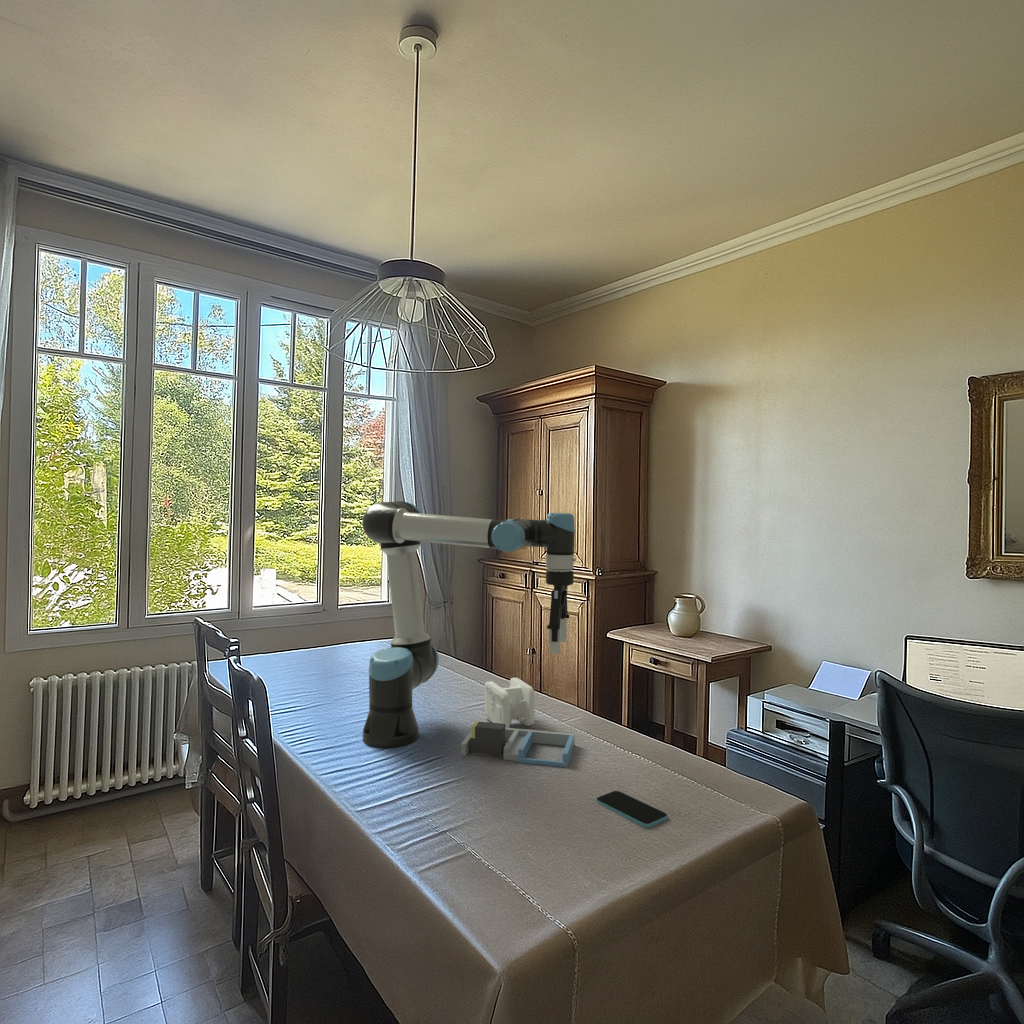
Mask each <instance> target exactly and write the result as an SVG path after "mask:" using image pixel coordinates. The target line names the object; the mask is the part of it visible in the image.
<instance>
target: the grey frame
mask: <svg viewBox="0 0 1024 1024" xmlns="http://www.w3.org/2000/svg"><path fill="white" fill-rule="evenodd" d="M575 737H576V736H575V733H571V732H568V733H567V732H556V731H547V730H536V729H527V728H526V729H525V728H514V727H510V728H505V741H507V742H505V746H504V753H503V760H505V761H512V762H513V761H515V762H517V763H521V764H528V765H529V764H532V765H540V766H549V767H550V766H551V767H558V768H559V767H561V768H568V765H569V762H570V759H571V756H572V754H573V751H574V749H575V745H576V744H575V741H576V740H575V739H576V738H575ZM533 744H542V745H555V746H564V749H563V752H562V760H561V761H559V760H551V759H542V758H541V759H539V758H531V757H527V755H528V753H529V751H530V749H531V746H532V745H533ZM470 750H472V738H471V731H469V733H468V734H467V736H466V737H465V739H463V741H462V742H461V744H460V756H467V754H468V753H469V752H470Z"/></svg>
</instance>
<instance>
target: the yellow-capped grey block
mask: <svg viewBox="0 0 1024 1024" xmlns="http://www.w3.org/2000/svg"><path fill="white" fill-rule="evenodd" d="M470 728H471V730H470V732H471V738H472V748H471V754H477V755H484V754H486V755H485V756H494V757H495V756H497V757H502V756H504V746H505V745H506V740H505V724H501V723H492V722H491V721H486V722H485V721H478V720H475V721H474V722H473V724H472V725H471V727H470Z"/></svg>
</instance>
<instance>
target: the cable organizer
mask: <svg viewBox="0 0 1024 1024" xmlns="http://www.w3.org/2000/svg"><path fill="white" fill-rule="evenodd" d="M535 696H536V695H535V691H534V688H533V686H531V685H529V684H527V682H524V681H523V680H521V679H520V678H519V677H517V676H516V677H511V678H510V681H509V687H501V686H500V685H498V683H496V682H494V681H493V680H492V681H491V680H490V681H486V682H485V683H484V713H485V717H486V719H488V721H489V722H490V723H501V724H505V728H511V727H510V726H512V720H519V723H523V725H525V727H530V726H533V725H534V724H535V704H536V701H535V700H536V699H535Z"/></svg>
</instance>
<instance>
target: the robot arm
mask: <svg viewBox="0 0 1024 1024" xmlns="http://www.w3.org/2000/svg"><path fill="white" fill-rule="evenodd" d="M361 521H362V530H363V533H364V534H365V536H367V538H369V539H370V540H372V542H373V541H374V542H375V543H378V544H380V546H379V547H380V550H381V551H382V552H383V553H384V554H385V555H386V562H387V572H388V579H389V588H390V589H389V590H390V599H391V607H392V617H393V619H392V620H393V626H394V636H393V638H392V639H391V641H390V647H387V648H385V649H384V648H383V649H379V650H378V651H376V652H374V653H373V654H371V656H370V657H369V658H370V659H369V666H368V685H369V686H368V688H369V689H368V692H369V693H368V698H369V706H368V708H369V710H368V713H367V717H366V720H365V722H364V726H363V730H362V741H363V742H364V743H365V744H366V745H368V746H371V747H375V748H398V747H403V746H406V745H409V744H412V743H413V742H415V741H416V740H418V739H419V736H420V731H419V730H420V728H419V723H418V721H417V719H416V718H417V717H416V715H415V712H414V708H413V690H414V689H415V688H418V687H419V686H421V685H422V684H423V683H426V682H427V681H429V680H430V679H431V678H432V676H433V675H435V673H436V672H437V669H438V667H439V662H440V658H439V657H440V656H439V652H438V651H437V649H436V647H434V645H433V644H432V640H431V636H430V635H429V634H428V633H427V632H426V631H425V625H424V624H425V622H424V614H423V605H422V604H423V603H422V595H421V588H420V576H419V568H418V566H419V565H418V558H417V550H418V549H419V547H420V546H421V542H422V543H424V542H425V543H434V544H443V545H444V544H445V545H454V546H455V545H456V546H465V547H475V548H476V547H477V548H485V549H486V548H487V549H494V550H499V551H502V552H510V553H511V552H515V551H517V550H519V549H524V548H530V547H531V548H546V551H545V552H546V554H545V568H546V569H547V570H546V571H545V583H546V584H547V585H550V586H553V590H551V593H550V597H551V599H550V608H549V609H550V612H549V620H548V621H549V623H548V625H547V626H546V629H547V630H549V649H548V650H549V652H548V653H549V654H552V655H553V654H556V655H561V643H567V632H568V631H567V626H568V625H567V624H568V623H567V622H568V619H570V614H568V613H569V612H568V589H567V588H568V586H571V585H574V575H575V573H574V570H573V569H574V566H575V565H574V564H575V562H576V561H577V558H576V557H574V556H575V537H576V536H575V535H576V534H575V533H576V529H575V516H574V515H573V513H569V512H559V513H558V512H549V513H547V515H546V519H529V518H528V519H526V518H508V519H506V520H504V519H492V518H491V519H489V518H478V517H467V516H456V515H445V514H432V513H422V511H421V510H420V508H419V507H418V506H416V505H415V504H413V503H411V502H407V501H403V500H401V501H400V500H397V501H381V502H376V503H374V504H372V505H371V506H369V507H368V508H367V509H366V511H365V512H364V514H363V517H362V520H361Z"/></svg>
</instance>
